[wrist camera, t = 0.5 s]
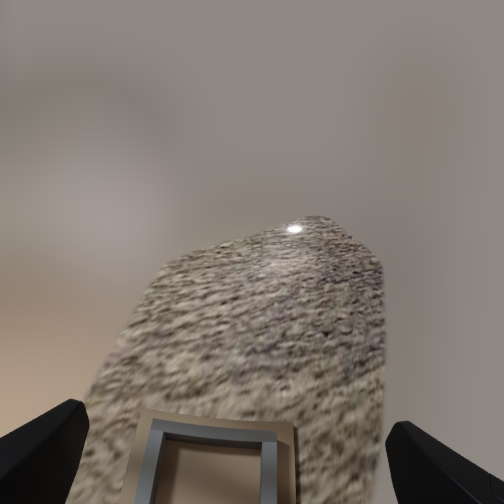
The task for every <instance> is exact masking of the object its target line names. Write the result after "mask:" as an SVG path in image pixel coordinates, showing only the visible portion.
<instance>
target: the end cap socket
mask: <svg viewBox="0 0 504 504" xmlns="http://www.w3.org/2000/svg"><path fill="white" fill-rule="evenodd" d="M119 504H296V484H295V454H294V430H293V423H291V422H257V421H240V420H227V419H216V418H206V417H198V416H190V415H182V414H175V413H169V412H163V411H157V410H151V409H145V408H142V411H141V415H140V419H139V422H138V426H137V430H136V433H135V437H134V441H133V445H132V449H131V453H130V457H129V461H128V465H127V469H126V473H125V477H124V481H123V486H122V490H121V495H120V499H119Z"/></svg>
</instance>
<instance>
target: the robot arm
mask: <svg viewBox="0 0 504 504" xmlns="http://www.w3.org/2000/svg"><path fill="white" fill-rule="evenodd" d="M88 430H89V419H88V415H87V412H86V408H85V405H84V403H83V402H82V401H78V400H75V399H69V400H67V401H65V402H63V403H61V404H60V405H58V406H56V407H54V408H53V409H51V410H49V411H48V412H46V413H44V414H42V415H40V416H39V417H37V418H35V419H33V420H32V421H30V422H28V423H26V424H24V425H23V426H21V427H19V428H17V429H16V430H14V431H12V432H10V433H9V434H6V435H5V436H3V437H1V438H0V504H65V502H66V499H67V497H68V494H69V491H70V489H71V486H72V483H73V481H74V478H75V476H76V473H77V470H78V467H79V463H80V460H81V456H82V452H83V448H84V444H85V441H86V437H87V433H88ZM385 447H386V452H387V457H388V462H389V468H390V473H391V479H392V483H393V487H394V491H395V494H396V497H397V501H398V504H504V481H502V480H500V479H499V478H497V477H495V476H494V475H492V474H490V473H488V472H487V471H485V470H484V469H482V468H480V467H479V466H477V465H476V464H474V463H472V462H471V461H469V460H467V459H466V458H464V457H463V456H461V455H460V454H458V453H456V452H455V451H453V450H452V449H450V448H449V447H447V446H446V445H444V444H443V443H441V442H440V441H438V440H437V439H435V438H434V437H432V436H430V435H429V434H427V433H426V432H424V431H423V430H422V429H420V428H418V427H417V426H415V425H414V424H413V423H411V422H409V421H400V422H397V423H395V424H394V426H393V428H392V430H391V432H390V433H389V435H388V437H387V439H386V442H385Z"/></svg>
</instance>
